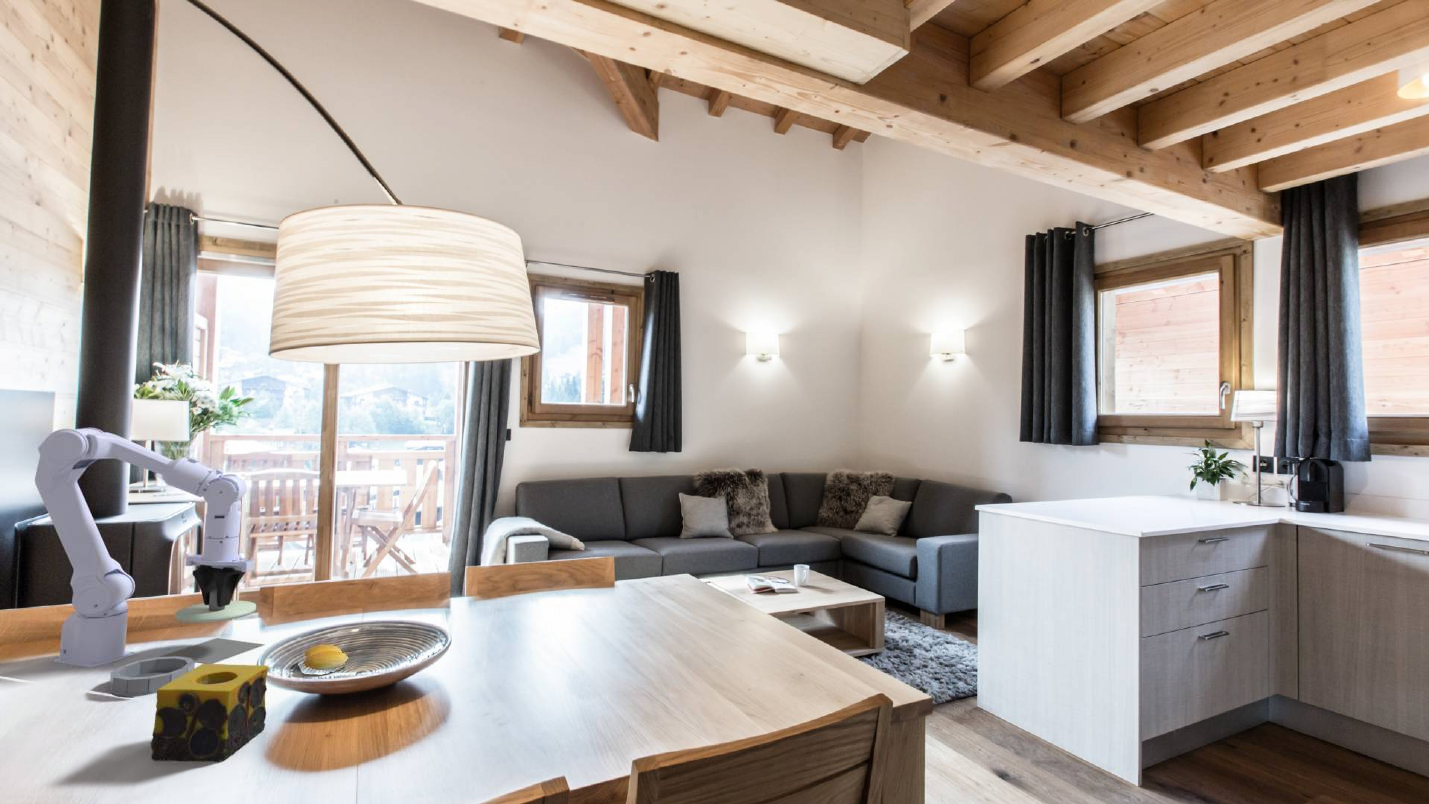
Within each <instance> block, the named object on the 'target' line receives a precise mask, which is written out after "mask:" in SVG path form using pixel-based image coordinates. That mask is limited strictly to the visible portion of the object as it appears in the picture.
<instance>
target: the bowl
mask: <svg viewBox="0 0 1429 804" xmlns="http://www.w3.org/2000/svg"><path fill="white" fill-rule="evenodd" d="M195 665H196V662H194V661H193V660H192V659H191V658H186V657H179V656H178V657H177V656H174V657H153V658H152V657H151V658H146V659H141V660H136V661H133V662H130V663H126V664H124V665H120V666H118V667H117V668H115V669H114V670H113V671H111V672H110V679H109V681H110V682H109V687H110V693H111V695H112V696H115V697H117V698H128V699H129V698H130V699H131V698H135V697H133V696H145V695H152V694H157V690H158V689H159V688H161V687H163V686H164V685H166V684H168V683H170V682H172V681H173V680H175V679H177V678H179V677H181V676H183V675H184V674H186V673H188V672H189V671H191V670H193V669H195V668H196V667H195Z"/></svg>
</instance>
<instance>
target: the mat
mask: <svg viewBox="0 0 1429 804" xmlns="http://www.w3.org/2000/svg"><path fill="white" fill-rule="evenodd" d="M263 646H266V644H265V643H262V644H261V643H257V642H249V641H242V640H241V641H240V640H234V639H227V638H219V637H215V638H212V639H209V640H206V641H204V642H203V641H202V642H200V643H198V644H197V643H196V644H194V645H191V646H188V647H187V646H186V647H185V648H181V649H179V650H175V651H172V652H169V653H166V654H164V655H160V656H159V657H174V656H177V657H178V656H179V657H186V658H191V659H192V660H193V661H194V662H195V663H199V664H217V663H219V662H222V661H224V660H227V659H230V658H232V657H235V656H237V655H240V654H243V653H247V652H249V651H252V650H254V649H257V648H260V647H261V648H262V647H263ZM159 657H158V658H159Z"/></svg>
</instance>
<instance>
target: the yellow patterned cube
mask: <svg viewBox="0 0 1429 804" xmlns="http://www.w3.org/2000/svg"><path fill="white" fill-rule="evenodd" d="M268 672H269V666H268V665H266V664H265V665H262V664H261V665H259V664H258V665H257V664H256V665H254V664H253V665H251V664H250V665H249V664H226V663H225V664H224V663H214V664H204V663H200V665H199V666H197V667H194V669H193V670H191V671H189V672H188V673H186V674H184V675H183V676H181V677H179V678H177V679H175V680H173V681H172V682H170V683H168V684H166V685H164V686H163V687H161V688H159V689H158V690H157V693H156V705H155V707H156V709H155V710H156V711H155V716H154V725H153V731H152V735H151V736H152V739H151V742H150V747H151V751H152V752H151V760H153V761H174V762H175V761H176V762H177V761H178V762H206V761H208V762H210V761H211V762H224V761H225V760H227V759H229V758H230V757H231V756H233V755H234V754H236V753H237V751H239V750H240V749H242V748H243V747H244V746H245V745H247V744H248V743H249V742H251V741H252V740H253V739H254V738H255V737H257V736H258V735H259V734H260V733H262V732H263V731H264V730H265V729H266V728H265V727H266V722H265V721H266V717H267V709H266V692H267V690H268V688H267V676H268Z"/></svg>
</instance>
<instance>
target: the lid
mask: <svg viewBox="0 0 1429 804" xmlns="http://www.w3.org/2000/svg"><path fill="white" fill-rule="evenodd" d="M256 610H257V604H256V603H255V602H252V601H248V600H231V601H230V604H229V605H226V606H223V607H218V606H217V590H213V591H210V599H209V605H204V602H203V603H198V604H194V605H190V606H186V607H182V608H181V609H179V610H177V611H176V612H175V615H174V618H175V620H176V621H178V622H181V623H187V624H188V623H189V624H206V623H218V622H224V621H230V620H231V621H232V620H235V619H240V618H244V617H246V616H249V615H253V613H255V612H256Z"/></svg>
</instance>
